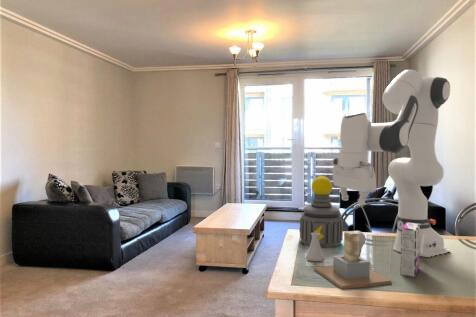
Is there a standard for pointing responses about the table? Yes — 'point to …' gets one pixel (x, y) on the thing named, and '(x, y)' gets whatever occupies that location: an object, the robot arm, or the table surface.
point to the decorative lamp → (321, 217)
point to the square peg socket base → (351, 273)
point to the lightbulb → (361, 241)
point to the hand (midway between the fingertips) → (352, 202)
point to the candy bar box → (410, 249)
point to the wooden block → (351, 246)
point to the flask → (315, 249)
